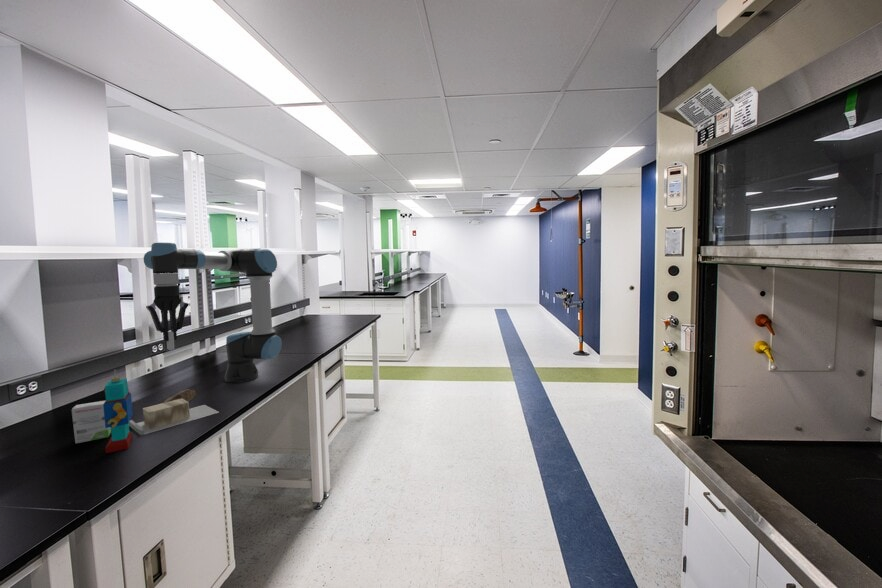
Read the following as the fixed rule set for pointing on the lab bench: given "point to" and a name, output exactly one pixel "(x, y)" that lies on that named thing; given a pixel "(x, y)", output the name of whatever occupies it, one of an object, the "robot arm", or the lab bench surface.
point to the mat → (194, 414)
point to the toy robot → (118, 413)
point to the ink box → (89, 422)
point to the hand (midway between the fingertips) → (170, 349)
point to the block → (166, 413)
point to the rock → (182, 395)
